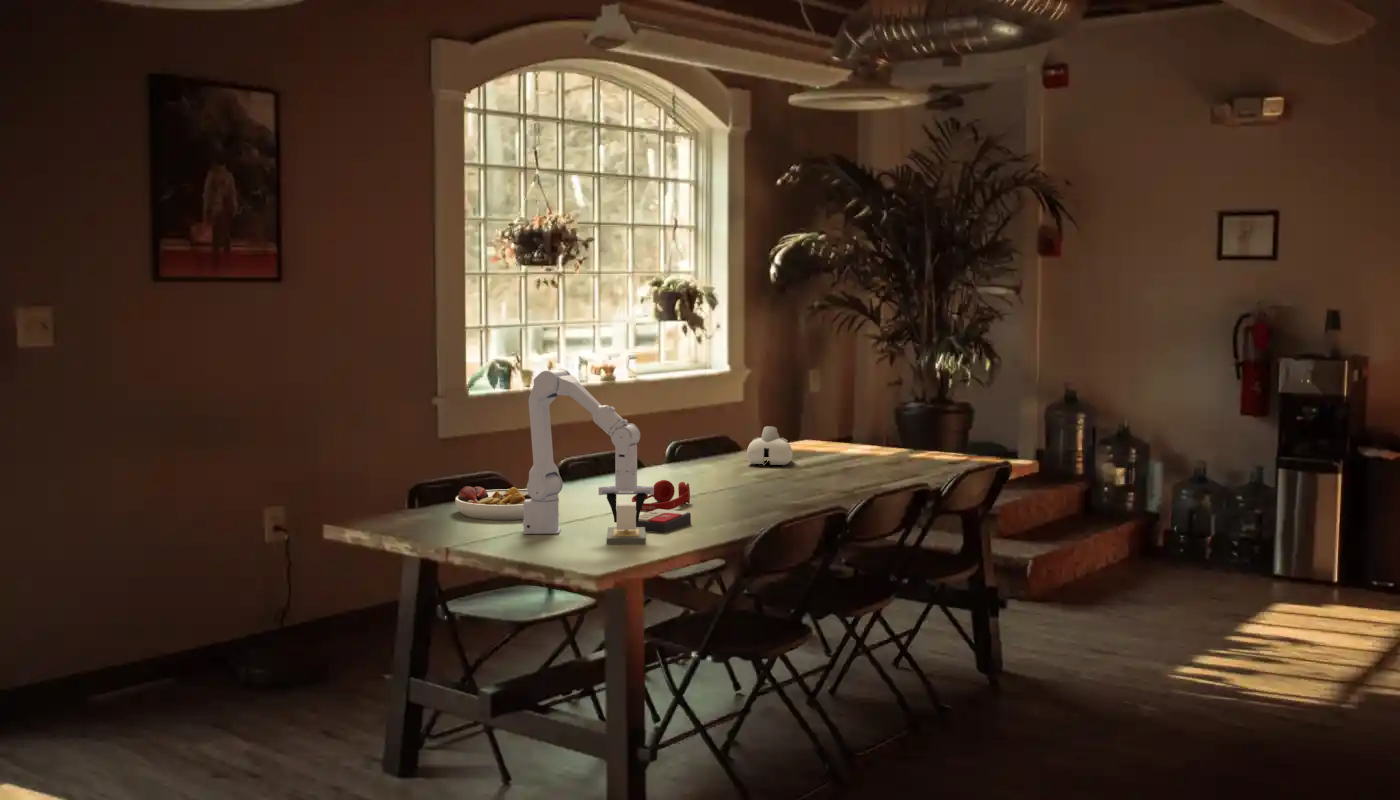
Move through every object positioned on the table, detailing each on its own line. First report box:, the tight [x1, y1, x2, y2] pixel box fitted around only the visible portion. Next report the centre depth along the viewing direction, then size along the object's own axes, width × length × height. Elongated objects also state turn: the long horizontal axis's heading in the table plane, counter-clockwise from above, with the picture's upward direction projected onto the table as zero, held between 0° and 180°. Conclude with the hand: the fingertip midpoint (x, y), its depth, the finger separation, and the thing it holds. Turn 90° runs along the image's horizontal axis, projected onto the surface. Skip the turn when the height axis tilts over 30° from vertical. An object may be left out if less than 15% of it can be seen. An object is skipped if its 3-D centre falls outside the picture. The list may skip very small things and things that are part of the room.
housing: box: [616, 501, 636, 530], centre depth 359 cm, size 5×8×6 cm, turn 3°
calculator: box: [636, 509, 692, 534], centre depth 376 cm, size 11×4×15 cm
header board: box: [606, 526, 646, 545], centre depth 360 cm, size 10×16×5 cm, turn 3°
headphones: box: [631, 479, 691, 512], centre depth 411 cm, size 15×7×20 cm
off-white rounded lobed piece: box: [746, 425, 793, 466], centre depth 506 cm, size 22×23×15 cm
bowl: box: [454, 485, 560, 521], centre depth 399 cm, size 30×30×8 cm
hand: (626, 521), depth 359 cm, fingers closed on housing, 5 cm apart
